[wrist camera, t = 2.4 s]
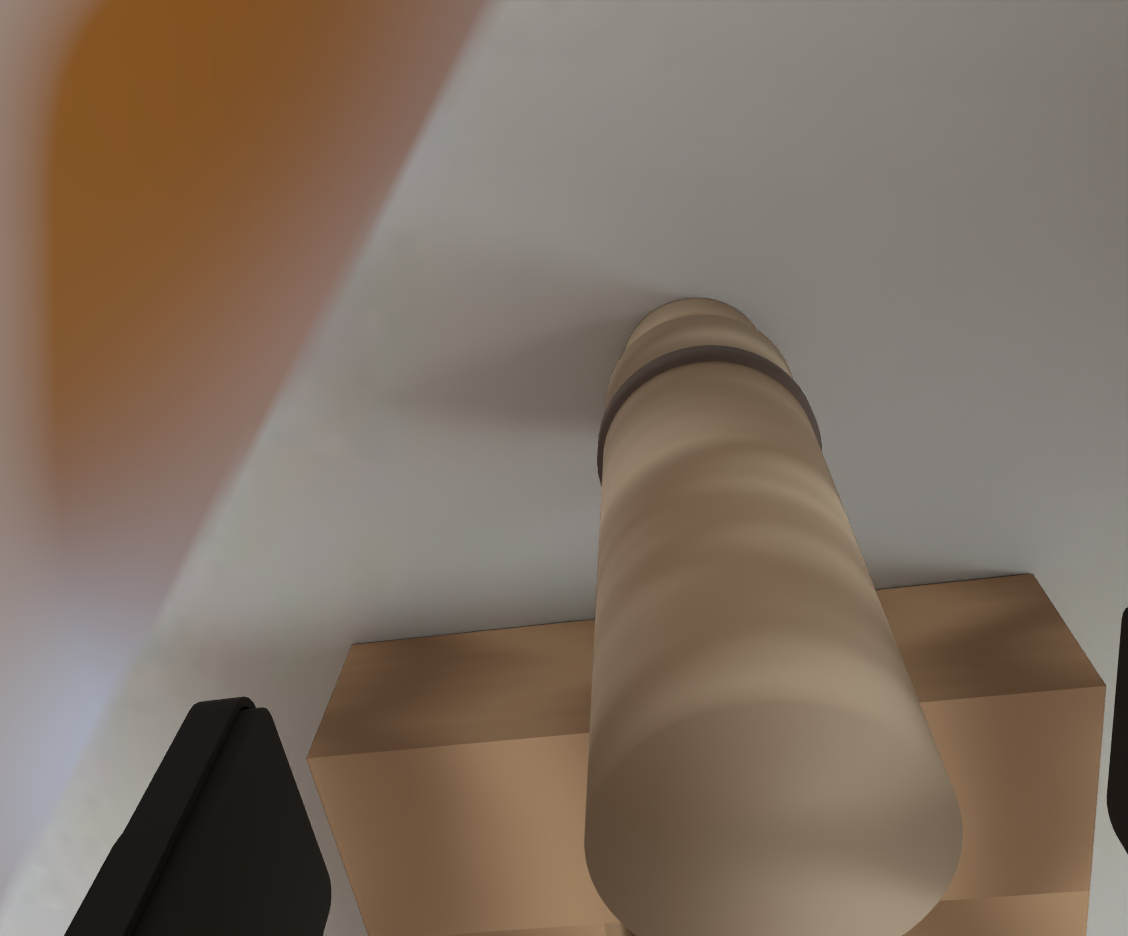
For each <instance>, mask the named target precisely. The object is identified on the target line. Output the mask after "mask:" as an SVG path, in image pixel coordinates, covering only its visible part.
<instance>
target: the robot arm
mask: <svg viewBox="0 0 1128 936" xmlns="http://www.w3.org/2000/svg"><path fill="white" fill-rule="evenodd" d="M1107 807H1108V813H1109V817H1110V821H1111V824H1112V826H1113V829H1114V831H1115V833H1116V835H1117V837H1118V839H1119V840H1120V842H1121V844H1122V845H1123V847H1124V849H1125V850H1126V852H1127V854H1128V608H1126V609H1125V611H1124V612H1123V616H1122V623H1121V635H1120V647H1119V659H1118V670H1117V682H1116V694H1115V706H1114V718H1113V729H1112V741H1111V753H1110V765H1109V777H1108V788H1107ZM330 905H331V883H330V878H329V874H328V871H327V868H326V866H325V863H324V860H323V857H322V854H321V852H320V849H319V846H318V843H317V841H316V838H315V835H314V832H313V829H312V827H311V824H310V821H309V818H308V816H307V813H306V810H305V807H304V804H303V802H302V799H301V796H300V793H299V791H298V788H297V785H296V782H295V779H294V777H293V774H292V771H291V768H290V766H289V763H288V760H287V757H286V754H285V752H284V749H283V746H282V743H281V741H280V738H279V735H278V732H277V729H276V727H275V724H274V721H273V718H272V716H271V714H270V712H269V711H268V710H267V709H266V708H263V707H262V708H256V707H255V705H254V703H253V702H252V701H251V700H250V698H247V697H237V698H229V699H220V700H212V701H203V702H198V703H196V704H194V705H193V707H192V708H191V709H190V711H189V713H188V714H187V716H186V718H185V720H184V722H183V724H182V725H181V727H180V729H179V731H178V733H177V735H176V736H175V738H174V740H173V742H172V744H171V746H170V747H169V749H168V751H167V753H166V755H165V757H164V758H163V760H162V762H161V764H160V766H159V768H158V769H157V771H156V773H155V775H154V777H153V779H152V781H151V782H150V784H149V786H148V788H147V790H146V792H145V793H144V795H143V797H142V799H141V801H140V803H139V804H138V806H137V808H136V810H135V812H134V814H133V815H132V817H131V819H130V821H129V823H128V825H127V826H126V828H125V830H124V832H123V834H121V836H120V837H119V839H118V840H117V841H116V843H115V844H114V845H113V847H112V849H111V851H110V853H109V855H108V856H107V858H106V860H105V862H104V864H103V865H102V867H101V869H100V871H99V873H98V875H97V876H96V878H95V880H94V882H93V884H92V886H91V887H90V889H89V891H88V893H87V895H86V897H85V898H84V900H83V902H82V904H81V906H80V908H79V909H78V911H77V913H76V915H75V917H74V918H73V920H72V922H71V924H70V926H69V928H68V929H67V931H66V933H65V935H64V936H323V932H324V929H325V925H326V922H327V918H328V914H329V910H330Z"/></svg>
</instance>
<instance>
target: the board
mask: <svg viewBox="0 0 1128 936" xmlns="http://www.w3.org/2000/svg"><path fill="white" fill-rule="evenodd" d="M876 592H877V595H878V598H879V600H880V603H881V605H882V608H883V610H884V613H885V616H886V618H887V621H888V623H889V626H890V628H891V631H892V633H893V636H894V639H895V641H896V644H897V646H898V649H899V651H900V654H901V657H902V659H903V662H904V664H905V667H906V669H907V672H908V675H909V677H910V680H911V682H912V685H913V687H914V690H915V692H916V695H917V698H918V700H919V703H920V705H921V708H922V710H923V713H924V716H925V718H926V721H927V723H928V726H929V728H930V731H931V734H932V736H933V739H934V741H935V744H936V746H937V749H938V751H939V754H940V757H941V759H942V762H943V764H944V767H945V769H946V772H947V775H948V777H949V780H950V782H951V785H952V787H953V790H954V793H955V795H956V798H957V801H958V805H959V809H960V812H961V816H962V827H963V840H962V850H961V855H960V859H959V862H958V866H957V869H956V872H955V874H954V876H953V878H952V880H951V882H950V885H949V887H948V888H947V890H946V891H945V893H944V894H943V896H942V897H941V899H940V900H939V902H938V903H937V904H936V905H935V906H934V908H933V909H932V910H931V911H930V912H929V913H928V914H927V915H926V916H925V917H924V918H923V919H922V920H921V921H920V922H919V923H918V924H916V925H915V926H914V927H913V928H912V929H911V930H909V931H908V932H907V933H905V934H904V935H902V936H1086V929H1087V917H1088V905H1089V892H1090V880H1091V867H1092V855H1093V842H1094V830H1095V818H1096V805H1097V793H1098V780H1099V768H1100V755H1101V743H1102V731H1103V718H1104V706H1105V693H1106V685H1105V683H1104V682H1103V680H1102V679H1101V677H1100V676H1099V674H1098V673H1097V671H1096V670H1095V668H1094V667H1093V665H1092V663H1091V662H1090V660H1089V659H1088V657H1087V656H1086V654H1085V653H1084V651H1083V650H1082V648H1081V647H1080V645H1079V644H1078V642H1077V641H1076V639H1075V638H1074V636H1073V634H1072V633H1071V631H1070V630H1069V628H1068V627H1067V625H1066V624H1065V622H1064V621H1063V619H1062V618H1061V616H1060V615H1059V613H1058V612H1057V610H1056V609H1055V607H1054V606H1053V604H1052V602H1051V601H1050V599H1049V598H1048V596H1047V595H1046V593H1045V592H1044V590H1043V589H1042V587H1041V586H1040V584H1039V583H1038V581H1037V580H1036V578H1035V577H1034V575H1033V574H1025V575H1016V576H1006V577H997V578H987V579H977V580H968V581H958V582H949V583H939V584H929V585H920V586H910V587H901V588H891V589H882V590H876ZM594 632H595V619H594V620H584V621H575V622H565V623H556V624H546V625H536V626H527V627H517V628H508V629H498V630H488V631H479V632H469V633H460V634H450V635H441V636H431V637H421V638H412V639H402V640H393V641H383V642H373V643H364V644H354V645H352V646H351V648H350V651H349V653H348V656H347V658H346V661H345V663H344V666H343V668H342V671H341V673H340V676H339V678H338V681H337V683H336V686H335V688H334V691H333V693H332V696H331V698H330V701H329V703H328V706H327V708H326V711H325V713H324V716H323V718H322V721H321V723H320V726H319V728H318V731H317V733H316V736H315V738H314V741H313V743H312V746H311V748H310V751H309V753H308V756H307V758H306V759H307V762H308V764H309V767H310V770H311V773H312V776H313V779H314V782H315V784H316V787H317V790H318V793H319V796H320V799H321V802H322V804H323V807H324V810H325V813H326V816H327V819H328V821H329V824H330V827H331V830H332V833H333V836H334V839H335V841H336V844H337V847H338V850H339V853H340V856H341V859H342V861H343V864H344V867H345V870H346V873H347V876H348V878H349V881H350V884H351V887H352V890H353V893H354V896H355V898H356V901H357V904H358V907H359V910H360V913H361V916H362V918H363V921H364V924H365V927H366V930H367V933H368V935H369V936H636V935H635V934H634V933H633V932H631V931H630V930H629V929H628V928H626V927H625V926H624V925H623V924H622V923H621V922H620V921H619V920H618V919H617V918H616V917H615V916H614V915H613V914H612V913H611V911H610V910H609V909H608V907H607V906H606V905H605V903H604V902H603V900H602V899H601V898H600V896H599V894H598V892H597V890H596V888H595V886H594V884H593V882H592V880H591V877H590V874H589V871H588V867H587V864H586V858H585V850H584V833H585V813H586V793H587V773H588V753H589V733H590V713H591V693H592V672H593V652H594Z"/></svg>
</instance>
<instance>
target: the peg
mask: <svg viewBox="0 0 1128 936" xmlns="http://www.w3.org/2000/svg"><path fill="white" fill-rule="evenodd" d="M597 464H598V474H599V479H600V483H601V487H602V492H601V512H600V532H599V552H598V572H597V592H596V612H595V632H594V652H593V672H592V693H591V713H590V733H589V753H588V773H587V793H586V813H585V833H584V850H585V858H586V864H587V867H588V871H589V874H590V877H591V880H592V882H593V884H594V886H595V888H596V890H597V892H598V894H599V896H600V898H601V899H602V900H603V902H604V903H605V905H606V906H607V907H608V909H609V910H610V911H611V913H612V914H613V915H614V916H615V917H616V918H617V919H618V920H619V921H620V922H621V923H622V924H623V925H624V926H625V927H626V928H628V929H629V930H630V931H631V932H633V933H634V934H635V935H636V936H902V935H904V934H905V933H907V932H908V931H909V930H911V929H912V928H913V927H914V926H915V925H916V924H918V923H919V922H920V921H921V920H922V919H923V918H924V917H925V916H926V915H927V914H928V913H929V912H930V911H931V910H932V909H933V908H934V906H935V905H936V904H937V903H938V902H939V900H940V899H941V897H942V896H943V894H944V893H945V891H946V890H947V888H948V887H949V885H950V882H951V880H952V878H953V876H954V874H955V872H956V869H957V866H958V862H959V859H960V855H961V850H962V840H963V827H962V816H961V812H960V809H959V805H958V801H957V798H956V795H955V793H954V790H953V787H952V785H951V782H950V780H949V777H948V775H947V772H946V769H945V767H944V764H943V762H942V759H941V757H940V754H939V751H938V749H937V746H936V744H935V741H934V739H933V736H932V734H931V731H930V728H929V726H928V723H927V721H926V718H925V716H924V713H923V710H922V708H921V705H920V703H919V700H918V698H917V695H916V692H915V690H914V687H913V685H912V682H911V680H910V677H909V675H908V672H907V669H906V667H905V664H904V662H903V659H902V657H901V654H900V651H899V649H898V646H897V644H896V641H895V639H894V636H893V633H892V631H891V628H890V626H889V623H888V621H887V618H886V616H885V613H884V610H883V608H882V605H881V603H880V600H879V598H878V595H877V592H876V590H875V587H874V585H873V582H872V580H871V577H870V574H869V572H868V569H867V567H866V564H865V562H864V559H863V557H862V554H861V551H860V549H859V546H858V544H857V541H856V539H855V536H854V533H853V531H852V528H851V526H850V523H849V521H848V518H847V515H846V513H845V510H844V508H843V505H842V503H841V500H840V498H839V495H838V492H837V490H836V487H835V485H834V482H833V480H832V477H831V474H830V472H829V469H828V467H827V464H826V462H825V459H824V457H823V454H822V445H821V437H820V432H819V429H818V425H817V422H816V419H815V417H814V414H813V412H812V409H811V407H810V405H809V403H808V400H807V398H806V396H805V395H804V393H803V392H802V390H801V389H800V387H799V386H798V385H797V383H796V382H795V381H794V380H793V377H792V374H791V372H790V369H789V367H788V365H787V363H786V361H785V359H784V357H783V356H782V354H781V353H780V351H779V350H778V349H777V348H776V346H775V345H774V344H773V343H772V342H771V341H770V340H769V339H768V338H767V337H766V336H764V335H763V334H762V333H761V332H759V331H758V330H756V328H755V327H754V325H753V324H752V323H751V322H750V320H749V319H748V318H747V317H746V316H744V315H743V314H742V313H741V312H739V311H738V310H736V309H735V308H733V307H731V306H729V305H727V304H725V303H722V302H719V301H716V300H711V299H706V298H689V299H682V300H677V301H674V302H671V303H668V304H666V305H664V306H661V307H659V308H658V309H656V310H655V311H653V312H651V313H650V314H649V315H648V316H646V317H645V318H644V319H643V320H642V321H641V322H640V323H639V324H638V326H637V327H636V328H635V330H634V331H633V332H632V334H631V336H630V338H629V340H628V342H627V344H626V347H625V350H624V353H623V355H622V356H621V358H620V359H619V361H618V362H617V364H616V366H615V368H614V370H613V372H612V375H611V378H610V381H609V384H608V389H607V394H606V411H605V414H604V417H603V419H602V422H601V427H600V432H599V438H598V456H597Z"/></svg>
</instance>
